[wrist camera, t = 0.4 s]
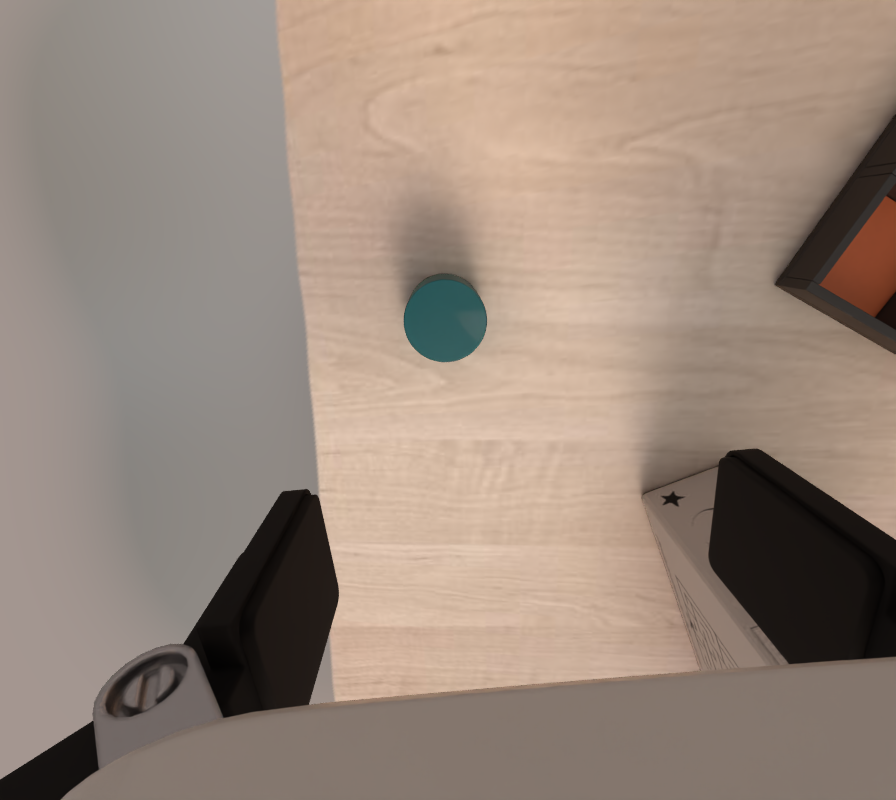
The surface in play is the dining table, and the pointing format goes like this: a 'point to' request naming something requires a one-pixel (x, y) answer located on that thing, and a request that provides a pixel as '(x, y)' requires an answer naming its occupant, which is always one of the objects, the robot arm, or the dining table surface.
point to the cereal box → (703, 578)
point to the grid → (855, 251)
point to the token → (445, 318)
